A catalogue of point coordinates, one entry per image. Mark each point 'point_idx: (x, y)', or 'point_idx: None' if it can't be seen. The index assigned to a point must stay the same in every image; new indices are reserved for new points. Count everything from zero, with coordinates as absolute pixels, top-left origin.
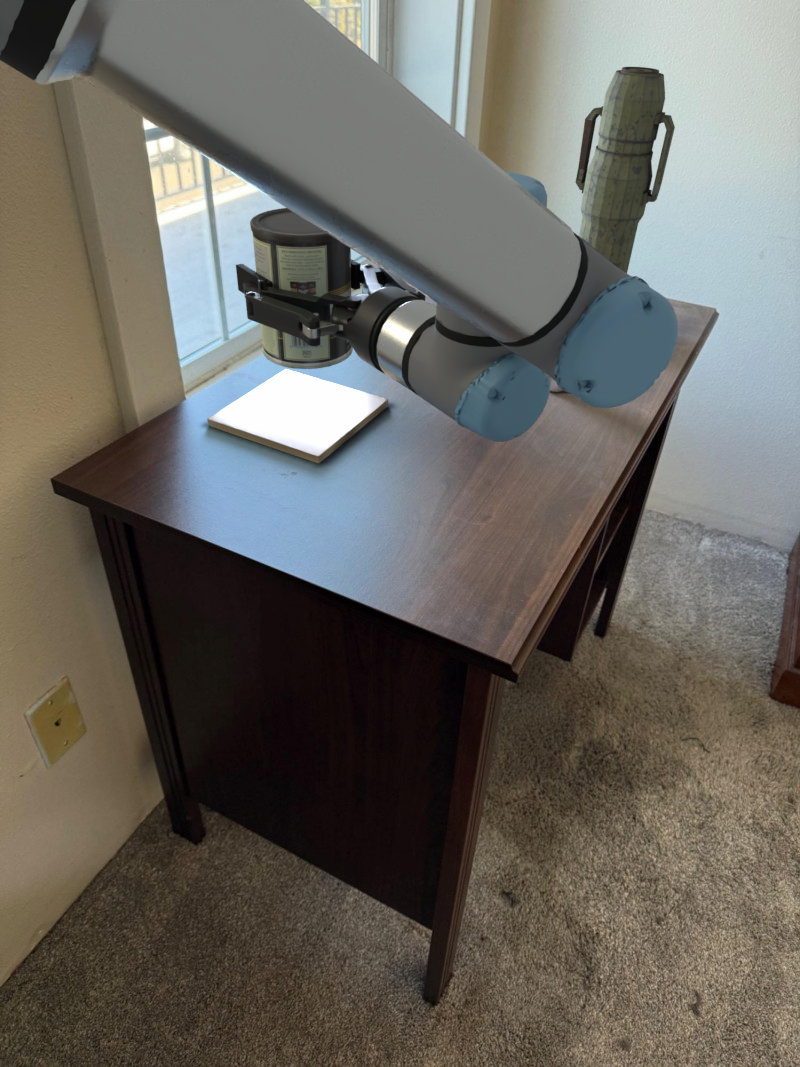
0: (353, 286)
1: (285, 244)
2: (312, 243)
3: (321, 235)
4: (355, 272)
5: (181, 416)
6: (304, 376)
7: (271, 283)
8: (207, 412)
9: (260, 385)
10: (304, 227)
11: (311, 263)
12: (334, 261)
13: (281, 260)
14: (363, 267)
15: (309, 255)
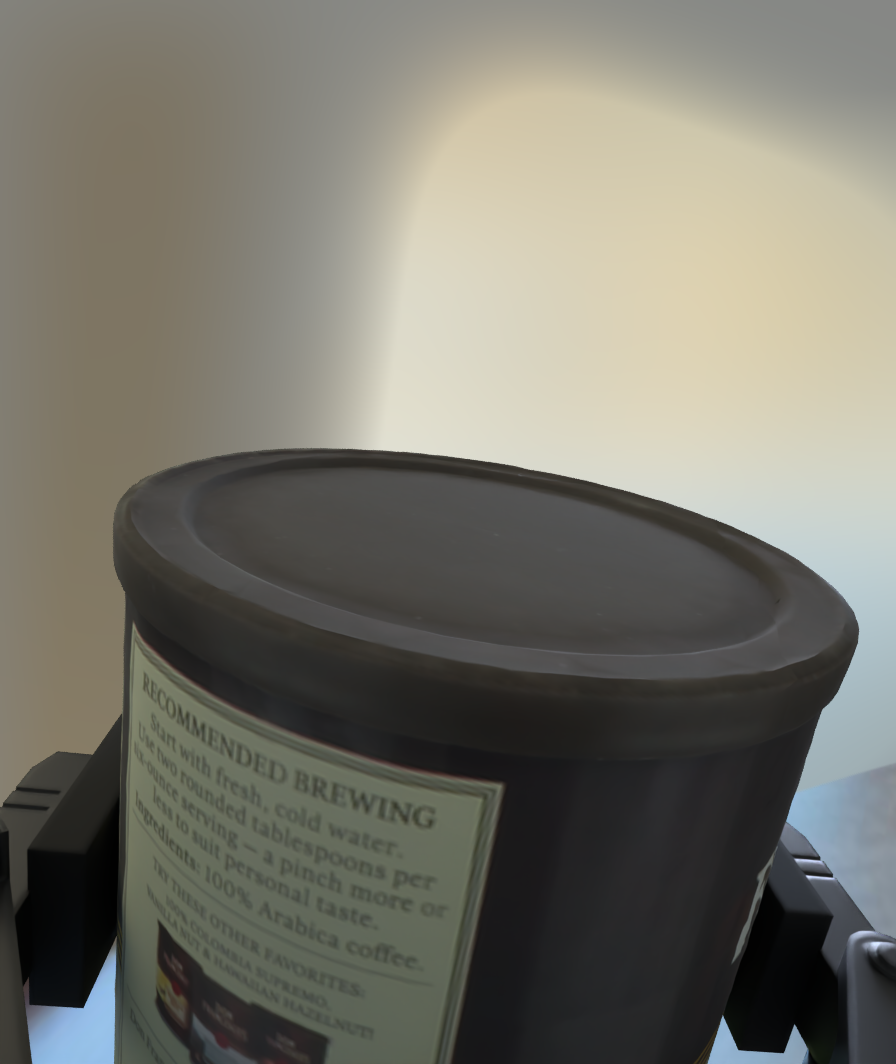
0: (737, 1023)
1: (157, 640)
2: (352, 721)
3: (459, 678)
4: (778, 955)
5: (32, 1022)
6: None
7: (72, 860)
8: (109, 1049)
9: None
10: (446, 562)
11: (312, 887)
12: (564, 939)
13: (136, 744)
14: (853, 968)
15: (306, 813)
